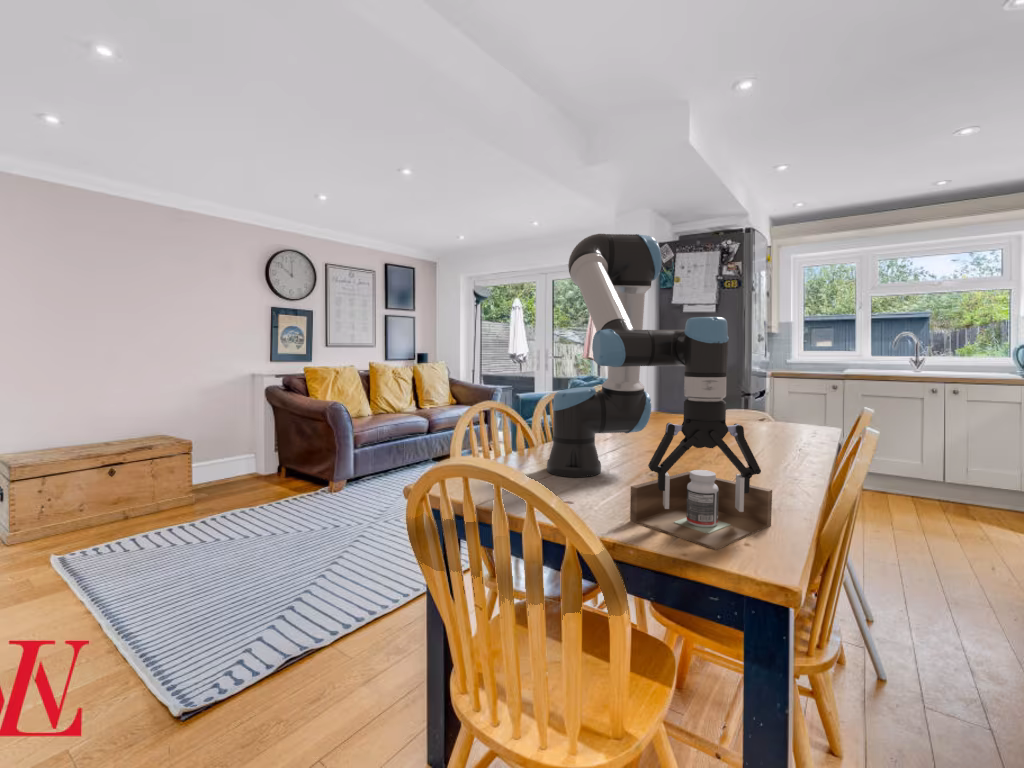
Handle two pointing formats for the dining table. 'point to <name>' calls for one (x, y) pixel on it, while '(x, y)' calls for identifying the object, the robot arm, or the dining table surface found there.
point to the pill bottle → (702, 499)
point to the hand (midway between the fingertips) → (702, 508)
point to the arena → (674, 520)
